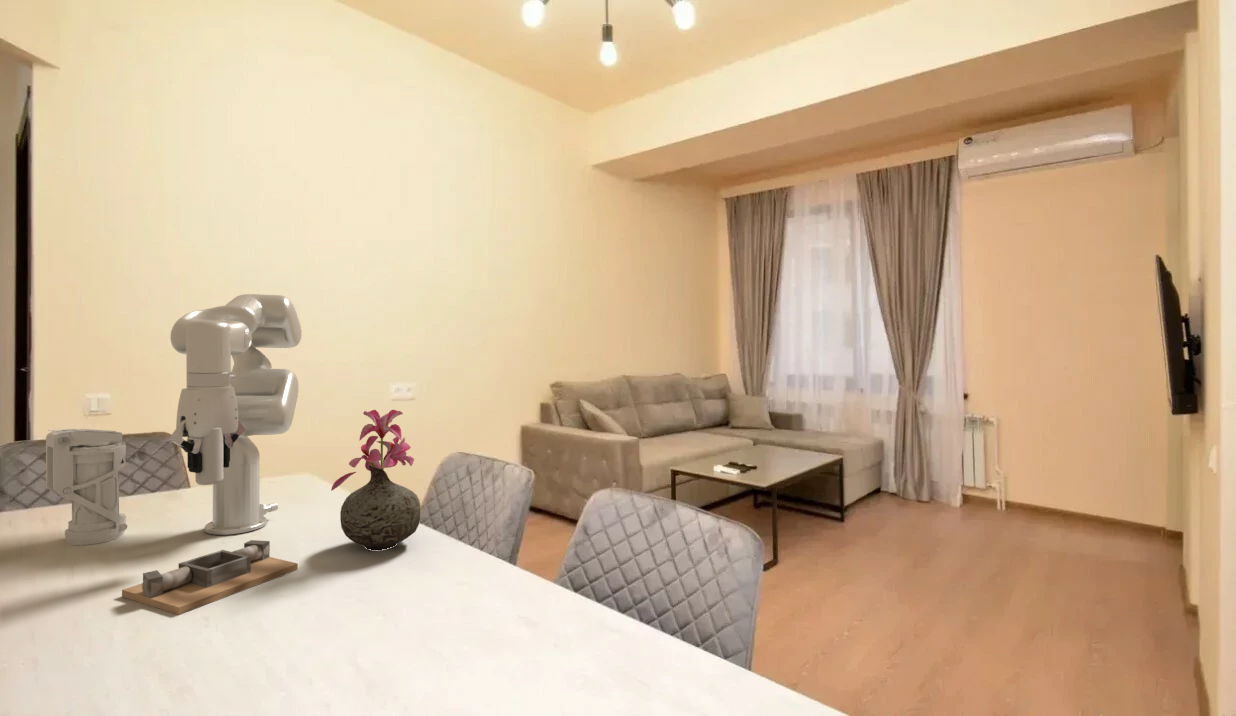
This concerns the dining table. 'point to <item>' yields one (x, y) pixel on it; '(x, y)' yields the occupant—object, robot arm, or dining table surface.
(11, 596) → the dining table surface
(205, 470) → the beverage can
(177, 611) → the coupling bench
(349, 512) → the vase
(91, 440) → the lantern
